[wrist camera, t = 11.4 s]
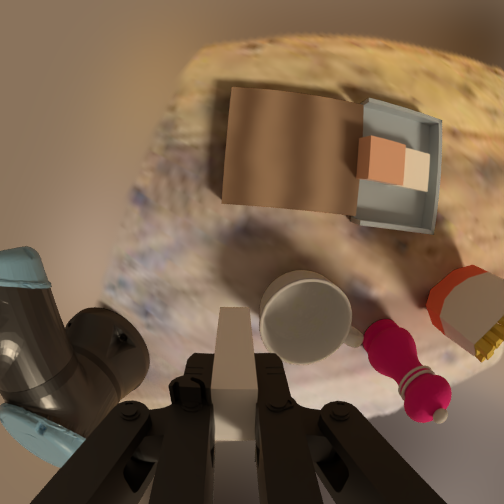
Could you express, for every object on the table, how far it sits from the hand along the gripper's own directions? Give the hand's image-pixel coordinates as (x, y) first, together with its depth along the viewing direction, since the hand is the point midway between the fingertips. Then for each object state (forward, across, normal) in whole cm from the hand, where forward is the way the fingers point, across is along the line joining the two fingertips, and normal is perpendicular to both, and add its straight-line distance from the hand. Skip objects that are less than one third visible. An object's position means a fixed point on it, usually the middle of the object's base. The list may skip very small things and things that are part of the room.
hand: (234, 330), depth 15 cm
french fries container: (+22, -34, +7) cm, 41 cm away
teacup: (+23, -10, +8) cm, 26 cm away
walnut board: (+22, -7, -12) cm, 26 cm away
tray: (+22, -21, -11) cm, 32 cm away
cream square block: (+21, -22, -11) cm, 32 cm away
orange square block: (+19, -17, -11) cm, 28 cm away
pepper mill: (+22, -22, +14) cm, 34 cm away
